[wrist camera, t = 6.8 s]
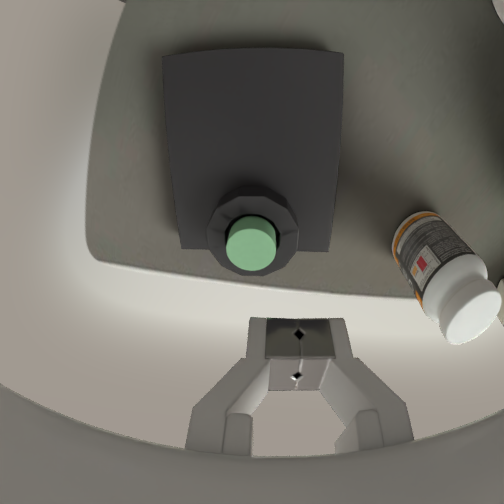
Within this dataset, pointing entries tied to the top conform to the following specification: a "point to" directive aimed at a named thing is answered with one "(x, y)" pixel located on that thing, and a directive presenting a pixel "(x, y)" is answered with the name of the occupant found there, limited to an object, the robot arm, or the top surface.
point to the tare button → (251, 243)
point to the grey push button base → (254, 145)
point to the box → (503, 291)
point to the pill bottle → (446, 276)
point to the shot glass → (499, 8)
